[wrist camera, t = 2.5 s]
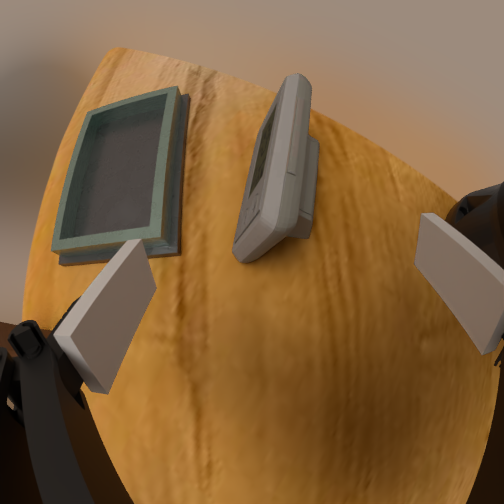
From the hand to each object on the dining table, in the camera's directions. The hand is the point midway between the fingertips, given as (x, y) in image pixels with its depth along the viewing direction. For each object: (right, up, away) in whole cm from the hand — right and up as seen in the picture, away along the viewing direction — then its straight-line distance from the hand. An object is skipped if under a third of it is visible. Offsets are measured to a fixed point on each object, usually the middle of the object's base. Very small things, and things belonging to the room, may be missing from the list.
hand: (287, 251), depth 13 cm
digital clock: (+1, +6, +17) cm, 18 cm away
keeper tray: (-17, +10, +20) cm, 28 cm away
